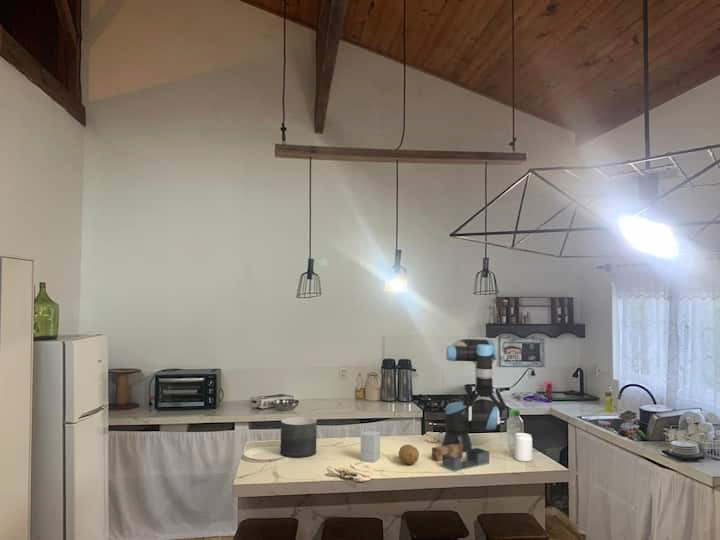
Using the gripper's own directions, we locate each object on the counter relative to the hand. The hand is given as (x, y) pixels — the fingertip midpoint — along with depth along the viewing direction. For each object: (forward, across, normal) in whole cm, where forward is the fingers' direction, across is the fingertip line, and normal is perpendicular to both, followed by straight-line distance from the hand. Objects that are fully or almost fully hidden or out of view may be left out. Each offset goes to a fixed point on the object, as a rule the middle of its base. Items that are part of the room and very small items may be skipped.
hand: (484, 421), depth 253 cm
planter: (+19, -86, -30) cm, 92 cm away
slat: (+19, -17, -4) cm, 26 cm away
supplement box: (+19, -49, -23) cm, 57 cm away
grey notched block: (+18, -6, -10) cm, 22 cm away
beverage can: (+19, +16, +12) cm, 28 cm away
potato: (+19, -31, -20) cm, 41 cm away
